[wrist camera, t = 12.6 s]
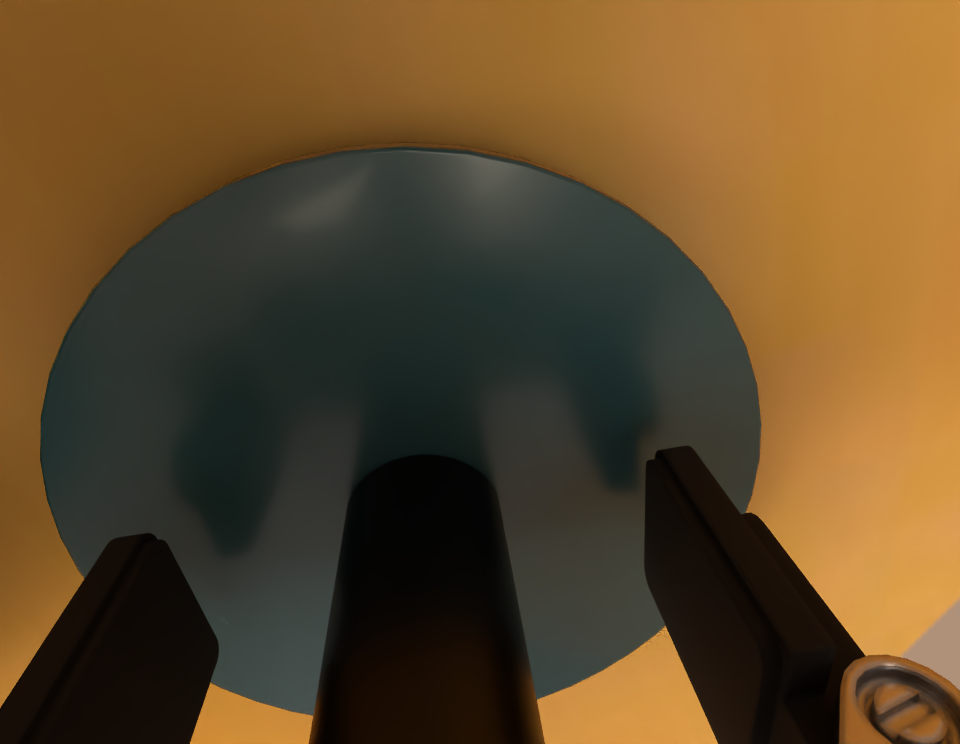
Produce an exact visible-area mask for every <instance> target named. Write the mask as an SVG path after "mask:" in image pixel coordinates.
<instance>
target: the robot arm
mask: <svg viewBox="0 0 960 744" xmlns="http://www.w3.org/2000/svg"><path fill="white" fill-rule="evenodd" d="M644 571H645V577H646V581H647V584H648V587H649V589H650V592H651V594H652V596H653V598H654V601H655V603H656V605H657V607H658V610H659V612H660V614H661V616H662V619H663V621H664V623H665V625H666V628H667V630H668V632H669V634H670V637H671V639H672V641H673V643H674V645H675V648H676V650H677V652H678V654H679V657H680V659H681V661H682V663H683V666H684V668H685V670H686V672H687V675H688V677H689V679H690V681H691V684H692V686H693V688H694V690H695V693H696V695H697V697H698V699H699V701H700V704H701V706H702V708H703V710H704V713H705V715H706V717H707V719H708V722H709V724H710V726H711V728H712V731H713V733H714V735H715V737H716V740H717V742H718V744H960V690H959V689H957V688H956V687H955V686H954V685H953V684H952V683H951V682H950V681H948V680H947V679H945V678H943V677H942V676H941V675H939V674H937V673H936V672H934V671H933V670H931V669H930V668H928V667H925V666H923V665H921V664H918V663H916V662H913V661H911V660H908V659H905V658H900V657H895V656H890V655H868V656H865V655H864V653H863V652H862V651H861V649H860V648H859V647H858V645H857V644H856V643H855V642H854V640H853V639H852V638H851V636H850V635H849V634H848V632H847V631H846V630H845V628H844V627H843V626H842V625H841V623H840V622H839V621H838V619H837V618H836V617H835V615H834V614H833V613H832V611H831V610H830V609H829V607H828V606H827V605H826V604H825V602H824V601H823V600H822V598H821V597H820V596H819V594H818V593H817V592H816V590H815V589H814V588H813V587H812V585H811V584H810V583H809V581H808V580H807V579H806V577H805V576H804V575H803V573H802V572H801V571H800V570H799V568H798V567H797V566H796V564H795V563H794V562H793V560H792V559H791V558H790V556H789V555H788V554H787V553H786V551H785V550H784V549H783V547H782V546H781V545H780V543H779V542H778V541H777V539H776V538H775V537H774V535H773V534H772V533H771V532H770V530H769V529H768V528H767V526H766V525H765V524H764V522H763V521H762V520H761V519H760V518H759V517H758V516H757V515H755V514H753V513H745V514H741V513H740V512H739V511H738V509H737V508H736V506H735V505H734V504H733V502H732V501H731V500H730V498H729V497H728V496H727V494H726V493H725V491H724V490H723V489H722V487H721V486H720V485H719V483H718V482H717V480H716V479H715V478H714V476H713V475H712V474H711V472H710V471H709V469H708V468H707V467H706V465H705V464H704V463H703V461H702V460H701V458H700V457H699V456H698V454H697V453H696V452H695V450H694V449H693V448H692V447H691V446H689V445H687V446H680V447H674V448H668V449H662V450H658V451H656V454H655V459H652V460H648V461H647V462H646V477H645V539H644ZM218 655H219V644H218V640H217V637H216V635H215V633H214V632H213V630H212V628H211V626H210V624H209V622H208V620H207V618H206V616H205V614H204V612H203V611H202V609H201V607H200V605H199V603H198V601H197V599H196V597H195V595H194V593H193V591H192V590H191V588H190V586H189V584H188V582H187V580H186V578H185V576H184V574H183V572H182V570H181V569H180V567H179V565H178V563H177V561H176V559H175V557H174V555H173V553H172V551H171V549H170V548H169V546H168V544H167V543H166V541H164V540H163V539H159V540H158V539H157V538H156V536H155V535H153V534H152V533H143V534H137V535H131V536H124V537H118V538H114V539H112V540H111V541H110V542H109V543H108V544H107V545H106V547H105V548H104V550H103V551H102V553H101V555H100V556H99V558H98V559H97V561H96V562H95V564H94V565H93V567H92V568H91V570H90V571H89V573H88V574H87V576H86V578H85V579H84V581H83V582H82V584H81V585H80V587H79V588H78V590H77V591H76V593H75V594H74V596H73V597H72V599H71V601H70V602H69V604H68V605H67V607H66V608H65V610H64V611H63V613H62V614H61V616H60V617H59V619H58V620H57V622H56V624H55V625H54V627H53V628H52V630H51V631H50V633H49V634H48V636H47V637H46V639H45V640H44V642H43V643H42V645H41V647H40V648H39V650H38V651H37V653H36V654H35V656H34V657H33V659H32V660H31V662H30V663H29V665H28V666H27V668H26V670H25V671H24V673H23V674H22V676H21V677H20V679H19V680H18V682H17V683H16V685H15V686H14V688H13V689H12V691H11V693H10V694H9V696H8V697H7V699H6V700H5V702H4V703H3V705H2V706H1V708H0V744H190V741H191V738H192V735H193V732H194V729H195V726H196V723H197V720H198V717H199V714H200V711H201V708H202V705H203V702H204V699H205V696H206V693H207V691H208V688H209V685H210V682H211V679H212V676H213V673H214V670H215V667H216V664H217V660H218Z"/></svg>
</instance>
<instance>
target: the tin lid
mask: <svg viewBox="0 0 960 744" xmlns="http://www.w3.org/2000/svg"><path fill="white" fill-rule="evenodd" d="M760 438H761V416H760V407H759V398H758V389H757V383H756V379H755V376H754V372H753V369H752V365H751V362H750V358H749V355H748V351H747V347H746V345H745V343H744V341H743V339H742V336H741V334H740V332H739V330H738V328H737V326H736V324H735V322H734V320H733V317H732V315H731V313H730V311H729V309H728V307H727V306H726V305H725V303H724V302H723V300H722V299H721V297H720V296H719V294H718V293H717V292H716V290H715V289H714V287H713V286H712V284H711V283H710V282H709V280H708V279H707V277H706V276H705V274H704V273H703V272H702V271H701V270H700V269H699V268H698V266H697V265H696V264H695V263H694V262H693V261H692V260H691V259H690V258H689V257H688V256H687V255H686V254H685V253H684V252H683V251H682V250H681V249H680V248H679V247H678V246H677V245H676V244H675V243H674V242H673V241H672V240H671V239H670V238H669V237H668V236H667V235H665V234H664V233H663V232H661V231H660V230H659V229H657V228H656V227H655V226H653V225H652V224H651V223H649V222H648V221H647V220H645V219H644V218H643V217H641V216H640V215H639V214H637V213H636V212H635V211H633V210H632V209H631V208H629V207H628V206H626V205H625V204H623V203H622V202H620V201H618V200H616V199H615V198H613V197H611V196H609V195H607V194H605V193H603V192H602V191H600V190H598V189H596V188H594V187H592V186H590V185H588V184H587V183H585V182H583V181H581V180H579V179H577V178H575V177H574V176H571V175H568V174H565V173H562V172H560V171H557V170H554V169H551V168H549V167H546V166H543V165H540V164H538V163H535V162H532V161H529V160H526V159H524V158H521V157H516V156H511V155H506V154H501V153H496V152H492V151H487V150H482V149H477V148H472V147H467V146H457V145H442V144H426V143H411V142H401V143H388V144H375V145H361V146H348V147H342V148H337V149H333V150H328V151H324V152H319V153H315V154H310V155H306V156H301V157H296V158H292V159H287V160H285V161H282V162H279V163H277V164H274V165H272V166H269V167H266V168H264V169H261V170H258V171H256V172H253V173H250V174H248V175H245V176H242V177H240V178H237V179H234V180H232V181H230V182H229V183H227V184H225V185H223V186H221V187H220V188H218V189H216V190H214V191H212V192H211V193H209V194H207V195H205V196H204V197H202V198H200V199H198V200H196V201H195V202H193V203H191V204H189V205H187V206H186V207H184V208H182V209H180V210H179V211H177V212H175V213H174V214H172V215H171V216H170V217H168V218H167V219H166V220H165V221H163V222H162V223H161V224H159V225H158V226H157V227H156V228H154V229H153V230H152V231H151V232H149V233H148V234H147V235H146V236H144V237H143V238H142V239H140V240H139V241H138V242H137V243H135V244H134V245H133V246H132V247H130V248H129V249H128V250H127V251H126V252H125V253H124V255H123V256H122V257H121V258H120V259H119V260H118V261H117V262H116V263H115V264H114V266H113V267H112V268H111V269H110V270H109V271H108V272H107V273H106V274H105V275H104V277H103V278H102V279H101V280H100V281H99V282H98V283H97V284H96V285H95V286H94V288H93V289H92V291H91V292H90V294H89V295H88V297H87V299H86V300H85V302H84V303H83V305H82V307H81V308H80V310H79V311H78V313H77V314H76V316H75V318H74V319H73V321H72V322H71V324H70V326H69V327H68V329H67V331H66V333H65V336H64V338H63V341H62V343H61V346H60V348H59V351H58V353H57V356H56V358H55V361H54V363H53V366H52V368H51V371H50V374H49V379H48V384H47V389H46V394H45V399H44V404H43V409H42V414H41V446H40V461H41V467H42V472H43V478H44V484H45V490H46V496H47V501H48V504H49V506H50V509H51V512H52V515H53V518H54V521H55V523H56V526H57V529H58V532H59V535H60V537H61V539H62V541H63V543H64V545H65V547H66V548H67V550H68V552H69V554H70V556H71V558H72V559H73V561H74V563H75V565H76V567H77V569H78V571H79V572H80V573H81V575H82V576H83V577H84V579H85V578H86V576H87V574H88V573H89V571H90V570H91V568H92V567H93V565H94V564H95V562H96V561H97V559H98V558H99V556H100V555H101V553H102V551H103V550H104V548H105V547H106V545H107V544H108V543H109V542H110V541H111V540H112V539H114V538H118V537H124V536H131V535H137V534H143V533H152V534H153V535H155V536H156V538H157V539H158V540H159V539H163V540H164V541H166V543H167V544H168V546H169V548H170V549H171V551H172V553H173V555H174V557H175V559H176V561H177V563H178V565H179V567H180V569H181V570H182V572H183V574H184V576H185V578H186V580H187V582H188V584H189V586H190V588H191V590H192V591H193V593H194V595H195V597H196V599H197V601H198V603H199V605H200V607H201V609H202V611H203V612H204V614H205V616H206V618H207V620H208V622H209V624H210V626H211V628H212V630H213V632H214V633H215V635H216V637H217V640H218V644H219V655H218V660H217V664H216V667H215V670H214V673H213V676H212V679H211V682H210V683H212V684H214V685H216V686H218V687H220V688H222V689H225V690H228V691H230V692H233V693H235V694H238V695H241V696H243V697H246V698H249V699H251V700H254V701H256V702H260V703H263V704H267V705H270V706H274V707H278V708H281V709H285V710H288V711H292V712H297V713H302V714H307V715H313V721H312V727H311V734H310V740H309V744H545V742H544V736H543V731H542V726H541V720H540V715H539V710H538V704H537V699H540V698H542V697H545V696H547V695H550V694H552V693H555V692H558V691H560V690H563V689H565V688H568V687H570V686H572V685H574V684H576V683H578V682H580V681H582V680H585V679H587V678H589V677H591V676H593V675H595V674H597V673H599V672H601V671H602V670H604V669H606V668H607V667H609V666H611V665H612V664H614V663H616V662H617V661H619V660H620V659H622V658H624V657H625V656H627V655H629V654H630V653H632V652H633V651H634V650H636V649H637V648H638V647H640V646H641V645H642V644H644V643H645V642H646V641H648V640H649V639H650V638H652V637H653V636H654V635H656V634H657V633H658V632H659V631H660V630H662V629H663V628H664V627H665V626H666V625H665V623H664V621H663V619H662V616H661V614H660V612H659V610H658V607H657V605H656V603H655V601H654V598H653V596H652V594H651V592H650V589H649V587H648V584H647V581H646V577H645V571H644V539H645V477H646V462H647V461H648V460H652V459H655V454H656V451H658V450H662V449H668V448H674V447H680V446H687V445H689V446H691V447H692V448H693V449H694V450H695V452H696V453H697V454H698V456H699V457H700V458H701V460H702V461H703V463H704V464H705V465H706V467H707V468H708V469H709V471H710V472H711V474H712V475H713V476H714V478H715V479H716V480H717V482H718V483H719V485H720V486H721V487H722V489H723V490H724V491H725V493H726V494H727V496H728V497H729V498H730V500H731V501H732V502H733V504H734V505H735V506H736V508H737V509H738V511H739V512H740V513H741V514H745V513H746V510H747V507H748V504H749V502H750V499H751V496H752V493H753V488H754V483H755V478H756V473H757V469H758V464H759V457H760Z"/></svg>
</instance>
